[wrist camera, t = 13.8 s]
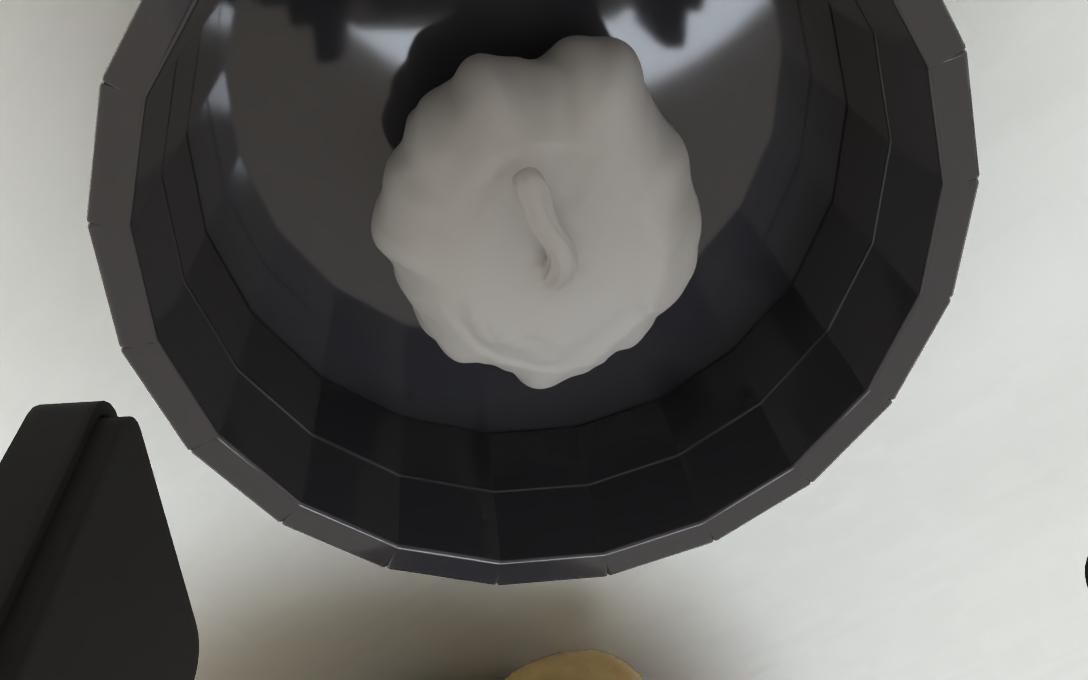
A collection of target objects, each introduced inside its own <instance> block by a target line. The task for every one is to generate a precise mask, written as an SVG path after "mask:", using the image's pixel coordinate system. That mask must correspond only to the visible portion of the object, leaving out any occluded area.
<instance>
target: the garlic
mask: <svg viewBox="0 0 1088 680" xmlns="http://www.w3.org/2000/svg"><path fill="white" fill-rule="evenodd" d="M371 233H372V237H373V240H374V242H375V244H376V246H377V247H378V249H379V250H380V251H381V252H382V253H383V254H384V255H385V256H387V257H388V259H389V260H390V261H391V262H392V264H393V268H394V273H395V277H396V280H397V282H398V284H399V286H400V288H401V290H402V291H403V293H404V294H405V295H406V297H407V299H408V300H409V302H410V303H411V305H412V306H413V309H414V312H415V314H416V317H417V319H418V321H419V323H420V325H421V327H422V328H423V330H424V331H425V332H426V333H427V334H428V335H429V336H430V337H432V338H433V339H435V340H436V341H437V343H438V345H439V346H440V348H441V349H442V350H443V352H444V353H445V354H446V355H447V356H449V357H450V358H451V359H453V360H455V361H457V362H460V363H474V362H477V363H483V364H491V365H494V366H497V367H499V368H501V369H503V370H505V371H509V372H512V373H514V374H515V375H516V376H517V377H518V379H519V380H520V381H521V382H523V383H524V384H525V385H527V386H529V387H531V388H535V389H545V388H549V387H552V386H554V385H556V384H558V383H560V382H562V381H564V380H566V379H568V378H570V377H573V376H576V375H580V374H584V373H586V372H588V371H590V370H591V369H593V368H594V367H596V366H598V365H600V364H602V363H604V362H605V361H606V360H607V359H608V357H610V356H611V355H612V354H614V353H615V352H617V351H620V350H624V349H628V348H631V347H633V346H635V345H636V344H637V343H638V342H639V341H640V340H641V339H642V338H643V337H644V335H645V334H646V333H647V332H648V330H649V329H650V328H651V326H652V325H653V323H654V321H655V319H656V317H657V316H658V315H660V314H661V313H663V312H664V311H665V310H667V309H668V308H669V307H670V306H671V305H672V304H674V303H675V302H676V300H677V299H678V298H679V297H680V296H681V294H682V293H683V291H684V289H685V287H686V286H687V284H688V282H689V280H690V279H691V277H692V275H693V273H694V270H695V267H696V263H697V255H698V244H699V240H700V235H701V212H700V206H699V201H698V198H697V195H696V193H695V190H694V187H693V183H692V180H691V173H690V162H689V156H688V152H687V149H686V146H685V144H684V142H683V140H682V138H681V137H680V135H679V134H678V133H677V131H676V130H675V129H674V128H673V127H672V126H671V125H670V124H669V122H668V121H667V120H666V119H665V118H664V117H663V116H662V114H661V113H660V111H659V109H658V108H657V106H656V104H655V102H654V101H653V98H652V96H651V93H650V91H649V90H648V88H647V86H646V85H645V83H644V75H643V70H642V67H641V64H640V61H639V59H638V56H637V54H636V53H635V51H634V50H633V48H632V47H631V46H630V45H628V44H627V43H626V42H624V41H622V40H620V39H617V38H614V37H607V36H597V37H591V36H583V35H575V36H568V37H565V38H563V39H561V40H559V41H558V42H557V43H555V44H554V45H553V46H552V47H551V48H550V49H549V50H548V51H547V52H546V53H545V54H543V55H542V56H541V57H539V58H537V59H529V60H528V59H524V58H521V57H506V56H495V55H490V54H484V53H478V54H474V55H472V56H470V57H468V58H466V59H465V60H464V61H463V62H462V63H461V64H460V66H459V67H458V69H457V71H456V73H455V75H454V76H453V77H452V78H451V79H450V80H448V81H447V82H445V83H443V84H442V85H440V86H438V87H436V88H434V89H433V90H431V91H429V92H428V93H427V94H425V95H424V96H423V97H422V98H421V100H420V101H419V103H418V104H417V107H416V108H415V109H413V110H412V111H411V112H410V114H409V115H408V117H407V120H406V125H405V130H404V135H403V139H402V141H401V142H400V144H399V145H398V146H397V147H396V148H395V149H394V151H393V152H392V153H391V155H390V157H389V159H388V161H387V164H386V166H385V170H384V175H383V182H382V190H381V192H380V194H379V196H378V198H377V201H376V204H375V207H374V211H373V215H372V220H371Z"/></svg>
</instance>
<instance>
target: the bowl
mask: <svg viewBox="0 0 1088 680" xmlns="http://www.w3.org/2000/svg"><path fill="white" fill-rule="evenodd" d="M504 680H643V679H642V677H641V676H640V675H639V674H638V673H637V672H636V671H635V670H634V669H633V668H632V667H631V666H630V665H628V664H627V663H626V662H624V661H623V660H621V659H620V658H618V657H616V656H614V655H611V654H609V653H606V652H603V651H600V650H577V651H568V652H561V653H557V654H554V655H550V656H547V657H544V658H541V659H539V660H536V661H533V662H531V663H528V664H526V665H524V666H522V667H521V668H519V669H517V670H516V671H515V672H513V673H512V674H511V675H509V676H508V677H507V678H505V679H504Z"/></svg>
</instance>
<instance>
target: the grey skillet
mask: <svg viewBox="0 0 1088 680" xmlns="http://www.w3.org/2000/svg"><path fill="white" fill-rule="evenodd" d="M575 35H583V36H591V37H597V36H607V37H614V38H617V39H620V40H622V41H624V42H626V43H627V44H628V45H630V46H631V47H632V48H633V50H634V51H635V53H636V54H637V56H638V59H639V61H640V64H641V67H642V70H643V75H644V83H645V85H646V86H647V88H648V90H649V91H650V93H651V96H652V98H653V101H654V102H655V104H656V106H657V108H658V109H659V111H660V113H661V114H662V116H663V117H664V118H665V119H666V120H667V121H668V122H669V124H670V125H671V126H672V127H673V128H674V129H675V130H676V131H677V133H678V134H679V135H680V137H681V138H682V140H683V142H684V144H685V146H686V149H687V152H688V156H689V162H690V173H691V180H692V183H693V187H694V190H695V193H696V195H697V198H698V201H699V206H700V212H701V235H700V240H699V244H698V255H697V263H696V267H695V270H694V273H693V275H692V277H691V279H690V280H689V282H688V284H687V286H686V287H685V289H684V291H683V293H682V294H681V296H680V297H679V298H678V299H677V300H676V302H675V303H674V304H672V305H671V306H670V307H669V308H668V309H667V310H665V311H664V312H663V313H661V314H660V315H658V316H657V317H656V319H655V321H654V323H653V325H652V326H651V328H650V329H649V330H648V332H647V333H646V334H645V335H644V337H643V338H642V339H641V340H640V341H639V342H638V343H637V344H636V345H635V346H633V347H631V348H628V349H624V350H620V351H617V352H615V353H614V354H612V355H611V356H610V357H608V359H607V360H606V361H605V362H604V363H602V364H600V365H598V366H596V367H594V368H593V369H591V370H590V371H588V372H586V373H584V374H580V375H576V376H573V377H570V378H568V379H566V380H564V381H562V382H560V383H558V384H556V385H554V386H552V387H549V388H545V389H535V388H531V387H529V386H527V385H525V384H524V383H523V382H521V381H520V380H519V379H518V377H517V376H516V375H515V374H514V373H512V372H509V371H505V370H503V369H501V368H499V367H497V366H494V365H491V364H483V363H477V362H474V363H460V362H457V361H455V360H453V359H451V358H450V357H449V356H447V355H446V354H445V353H444V352H443V350H442V349H441V348H440V346H439V345H438V343H437V341H436V340H435V339H433V338H432V337H430V336H429V335H428V334H427V333H426V332H425V331H424V330H423V328H422V327H421V325H420V323H419V321H418V319H417V317H416V314H415V312H414V309H413V306H412V305H411V303H410V302H409V300H408V299H407V297H406V295H405V294H404V293H403V291H402V290H401V288H400V286H399V284H398V282H397V280H396V277H395V273H394V268H393V264H392V262H391V261H390V260H389V259H388V257H387V256H385V255H384V254H383V253H382V252H381V251H380V250H379V249H378V247H377V246H376V244H375V242H374V240H373V237H372V233H371V220H372V215H373V211H374V207H375V204H376V201H377V198H378V196H379V194H380V192H381V190H382V182H383V175H384V170H385V166H386V164H387V161H388V159H389V157H390V155H391V153H392V152H393V151H394V149H395V148H396V147H397V146H398V145H399V144H400V142H401V141H402V139H403V135H404V130H405V125H406V120H407V117H408V115H409V114H410V112H411V111H412V110H413V109H415V108H416V107H417V104H418V103H419V101H420V100H421V98H422V97H423V96H424V95H425V94H427V93H428V92H429V91H431V90H433V89H434V88H436V87H438V86H440V85H442V84H443V83H445V82H447V81H448V80H450V79H451V78H452V77H453V76H454V75H455V73H456V71H457V69H458V67H459V66H460V64H461V63H462V62H463V61H464V60H465V59H466V58H468V57H470V56H472V55H474V54H478V53H484V54H490V55H495V56H506V57H521V58H524V59H528V60H529V59H537V58H539V57H541V56H542V55H543V54H545V53H546V52H547V51H548V50H549V49H550V48H551V47H552V46H553V45H554V44H555V43H557V42H558V41H559V40H561V39H563V38H565V37H568V36H575ZM978 177H979V167H978V158H977V148H976V138H975V128H974V118H973V109H972V99H971V89H970V79H969V69H968V59H967V52H966V51H965V44H964V42H963V40H962V37H961V35H960V33H959V31H958V29H957V27H956V25H955V23H954V21H953V19H952V17H951V15H950V13H949V11H948V9H947V7H946V5H945V3H944V1H943V0H141V1H140V3H139V5H138V7H137V9H136V11H135V13H134V15H133V17H132V19H131V21H130V23H129V25H128V27H127V29H126V31H125V33H124V35H123V37H122V39H121V41H120V43H119V45H118V47H117V49H116V51H115V53H114V55H113V57H112V59H111V61H110V63H109V65H108V67H107V69H106V71H105V73H104V75H103V82H102V83H101V84H100V88H99V98H98V108H97V118H96V129H95V139H94V149H93V160H92V170H91V180H90V190H89V201H88V211H87V221H88V222H89V224H88V229H89V232H90V236H91V240H92V244H93V247H94V251H95V255H96V259H97V262H98V266H99V270H100V274H101V277H102V281H103V285H104V289H105V292H106V296H107V300H108V304H109V307H110V311H111V315H112V319H113V322H114V326H115V330H116V334H117V337H118V341H119V344H120V346H121V347H122V349H121V350H122V353H123V354H124V356H125V357H126V359H127V360H128V362H129V363H130V365H131V366H132V368H133V369H134V371H135V372H136V374H137V375H138V377H139V378H140V379H141V381H142V382H143V384H144V385H145V387H146V388H147V390H148V391H149V393H150V394H151V396H152V397H153V399H154V400H155V402H156V403H157V405H158V406H159V408H160V409H161V411H162V412H163V413H164V415H165V416H166V418H167V419H168V421H169V422H170V424H171V425H172V427H173V428H174V430H175V431H176V433H177V434H178V436H179V437H180V439H181V440H182V442H183V443H184V445H185V446H186V447H187V449H188V450H191V451H192V453H193V454H194V455H195V456H197V457H198V458H199V459H201V460H202V461H203V462H204V463H206V464H207V465H208V466H209V467H211V468H212V469H213V470H214V471H216V472H217V473H218V474H219V475H221V476H222V477H223V478H224V479H226V480H227V481H228V482H229V483H231V484H232V485H233V486H234V487H236V488H237V489H238V490H239V491H241V492H242V493H243V494H244V495H246V496H247V497H248V498H249V499H251V500H252V501H253V502H254V503H256V504H257V505H258V506H259V507H261V508H262V509H263V510H264V511H266V512H267V513H268V514H269V515H271V516H272V517H273V518H274V519H276V520H277V521H279V522H282V523H283V524H284V525H285V526H287V527H290V528H292V529H294V530H297V531H299V532H301V533H304V534H306V535H309V536H311V537H313V538H316V539H318V540H320V541H323V542H325V543H327V544H330V545H332V546H335V547H337V548H339V549H342V550H344V551H346V552H349V553H351V554H353V555H356V556H358V557H360V558H363V559H365V560H368V561H370V562H372V563H375V564H377V565H379V566H382V567H386V566H387V567H388V568H389V569H395V570H401V571H408V572H414V573H421V574H427V575H434V576H441V577H447V578H454V579H460V580H467V581H473V582H480V583H486V584H496V583H498V585H507V584H519V583H531V582H543V581H555V580H567V579H579V578H591V577H603V576H607V574H609V575H613V574H616V573H619V572H622V571H625V570H628V569H631V568H634V567H637V566H641V565H644V564H647V563H650V562H653V561H656V560H659V559H662V558H665V557H669V556H672V555H675V554H678V553H681V552H684V551H687V550H690V549H693V548H696V547H700V546H703V545H706V544H709V543H712V542H713V539H714V540H715V541H716V540H719V539H720V538H722V537H724V536H725V535H727V534H729V533H730V532H732V531H734V530H735V529H737V528H739V527H740V526H742V525H744V524H745V523H747V522H748V521H750V520H752V519H753V518H755V517H757V516H758V515H760V514H762V513H763V512H765V511H767V510H768V509H770V508H772V507H773V506H775V505H777V504H778V503H780V502H782V501H783V500H785V499H787V498H788V497H790V496H792V495H793V494H795V493H797V492H798V491H800V490H802V489H803V488H805V487H806V486H808V485H809V484H810V482H813V481H815V480H816V479H817V478H818V477H819V476H820V475H821V474H822V473H823V472H824V471H825V470H826V469H827V468H828V467H829V466H830V465H831V464H832V463H833V462H834V461H835V460H836V459H837V458H838V457H839V456H840V455H841V454H842V453H843V452H844V451H845V450H846V449H847V448H848V447H849V446H850V445H851V444H852V443H853V442H854V441H855V440H856V439H857V438H858V437H859V436H860V435H861V434H862V433H863V432H864V431H865V430H866V429H867V428H868V427H869V426H870V425H871V424H872V423H873V422H874V421H875V420H876V419H877V418H878V417H879V416H880V415H881V414H882V413H883V412H884V411H885V410H886V409H887V408H888V407H889V406H890V405H891V403H892V400H893V399H894V398H895V397H896V395H897V394H898V392H899V390H900V388H901V387H902V385H903V383H904V381H905V380H906V378H907V376H908V374H909V373H910V371H911V369H912V368H913V366H914V364H915V362H916V361H917V359H918V357H919V355H920V354H921V352H922V350H923V348H924V347H925V345H926V343H927V341H928V340H929V338H930V336H931V334H932V333H933V331H934V329H935V327H936V326H937V324H938V322H939V320H940V319H941V317H942V315H943V313H944V312H945V310H946V308H947V306H948V305H949V303H950V297H952V295H953V292H954V288H955V283H956V279H957V275H958V270H959V266H960V262H961V257H962V253H963V249H964V244H965V240H966V236H967V231H968V227H969V222H970V218H971V214H972V209H973V205H974V201H975V196H976V192H977V188H978V183H979V182H978Z"/></svg>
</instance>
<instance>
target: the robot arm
mask: <svg viewBox="0 0 1088 680" xmlns="http://www.w3.org/2000/svg"><path fill="white" fill-rule="evenodd" d="M1085 578H1086V583H1087V587H1088V557H1087V561H1086V565H1085ZM198 656H199V638H198V630H197V625H196V621H195V618H194V614H193V611H192V607H191V604H190V600H189V597H188V593H187V590H186V587H185V583H184V580H183V576H182V573H181V569H180V566H179V562H178V559H177V555H176V552H175V548H174V545H173V541H172V538H171V534H170V531H169V527H168V524H167V520H166V517H165V513H164V510H163V506H162V503H161V499H160V496H159V492H158V489H157V485H156V482H155V478H154V475H153V471H152V468H151V464H150V461H149V457H148V454H147V450H146V447H145V443H144V440H143V436H142V433H141V430H140V427H139V425H138V422H137V421H136V420H135V418H133V417H131V416H128V417H118V416H117V414H116V411H115V409H114V408H113V407H112V405H111V404H110V403H108V402H105V401H95V402H78V403H61V404H43V405H38V406H35V407H33V408H32V409H31V410H30V412H29V413H28V414H27V416H26V417H25V419H24V421H23V423H22V425H21V426H20V428H19V430H18V432H17V434H16V435H15V437H14V439H13V441H12V443H11V444H10V446H9V448H8V450H7V451H6V453H5V455H4V457H3V459H2V460H1V462H0V680H194V679H195V675H196V670H197V665H198Z"/></svg>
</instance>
